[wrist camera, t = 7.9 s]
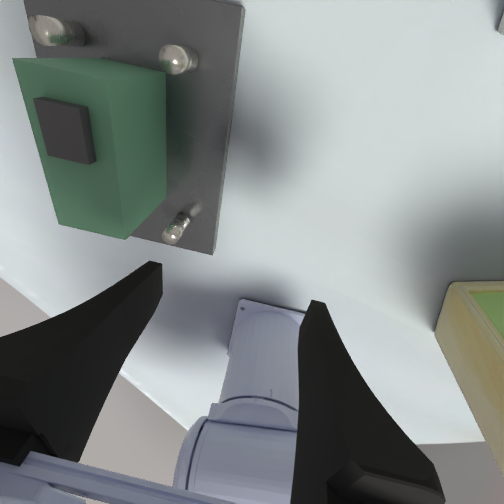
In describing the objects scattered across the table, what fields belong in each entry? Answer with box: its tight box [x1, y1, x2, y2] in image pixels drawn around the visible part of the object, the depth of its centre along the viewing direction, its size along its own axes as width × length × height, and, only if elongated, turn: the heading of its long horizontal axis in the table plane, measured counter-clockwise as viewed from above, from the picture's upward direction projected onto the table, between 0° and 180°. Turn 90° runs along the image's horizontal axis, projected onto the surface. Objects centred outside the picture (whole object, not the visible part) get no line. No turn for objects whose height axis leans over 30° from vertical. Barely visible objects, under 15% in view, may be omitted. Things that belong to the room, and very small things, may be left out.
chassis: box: [24, 0, 245, 255], centre depth 18 cm, size 16×12×4 cm
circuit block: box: [12, 58, 167, 240], centre depth 16 cm, size 8×4×7 cm, turn 170°
